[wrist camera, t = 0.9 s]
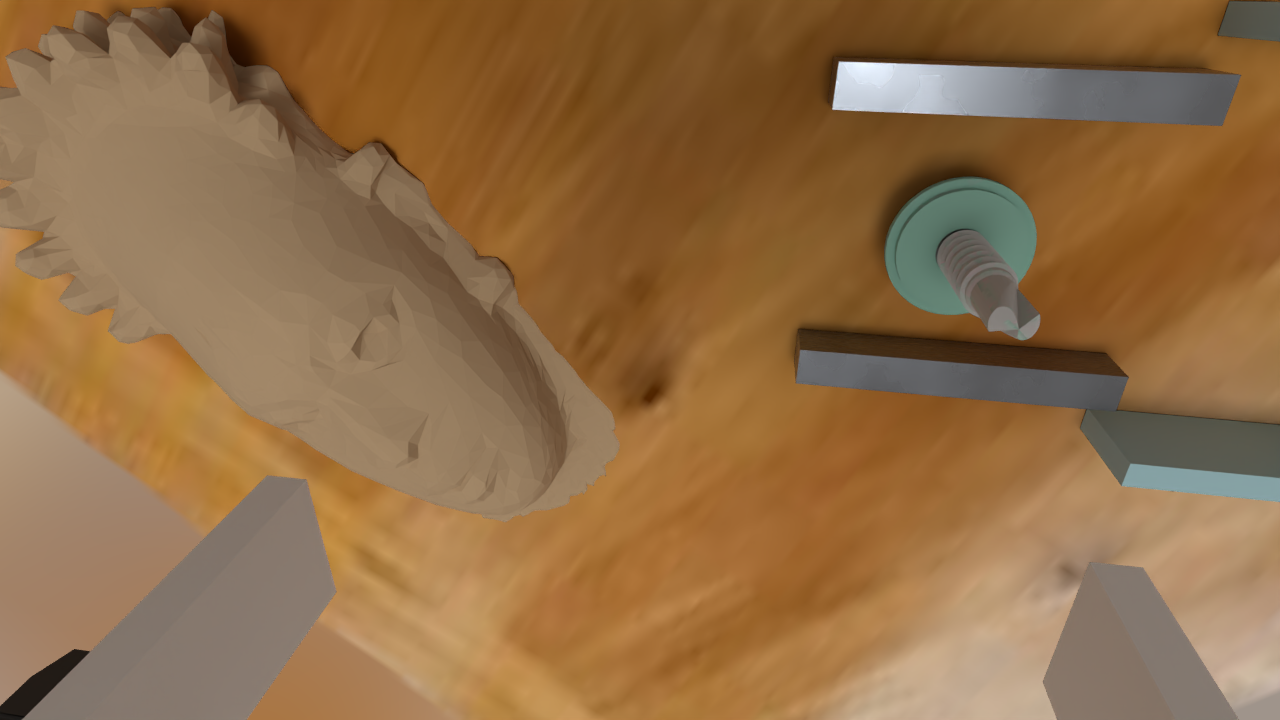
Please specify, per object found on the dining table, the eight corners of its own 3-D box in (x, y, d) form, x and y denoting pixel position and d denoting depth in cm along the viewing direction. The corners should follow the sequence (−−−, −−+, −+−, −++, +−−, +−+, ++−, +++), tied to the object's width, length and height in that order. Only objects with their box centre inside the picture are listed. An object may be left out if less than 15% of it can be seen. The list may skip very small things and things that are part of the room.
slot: (833, 56, 25) (838, 62, 24) (1205, 68, 24) (1241, 74, 22) (794, 360, 31) (795, 383, 29) (1094, 386, 29) (1115, 411, 28)
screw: (858, 199, 27) (996, 141, 26) (901, 311, 29) (1032, 263, 28) (896, 285, 20) (1097, 208, 18) (952, 431, 21) (1140, 374, 20)
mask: (477, 671, 34) (-134, 252, 28) (522, 568, 40) (25, 205, 34) (689, 498, 27) (-60, -98, 21) (705, 404, 33) (121, -81, 27)
